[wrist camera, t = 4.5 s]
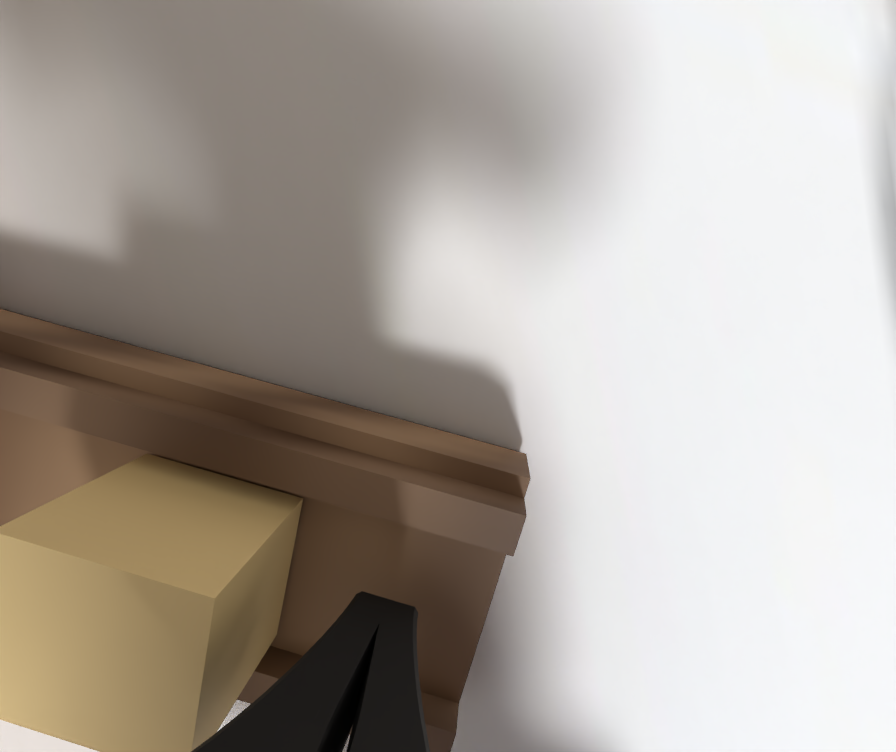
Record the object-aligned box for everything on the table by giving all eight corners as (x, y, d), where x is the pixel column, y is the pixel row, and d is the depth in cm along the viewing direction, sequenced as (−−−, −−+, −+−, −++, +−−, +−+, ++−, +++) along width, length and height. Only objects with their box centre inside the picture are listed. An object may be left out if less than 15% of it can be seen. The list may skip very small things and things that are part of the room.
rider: (303, 498, 11) (215, 597, 7) (276, 634, 12) (186, 779, 8) (146, 453, 11) (-10, 530, 8) (132, 591, 12) (-13, 715, 9)
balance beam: (546, 388, 11) (560, 417, 9) (435, 742, 14) (423, 840, 11) (-371, 142, 13) (-580, 109, 10) (-314, 510, 15) (-469, 554, 13)
